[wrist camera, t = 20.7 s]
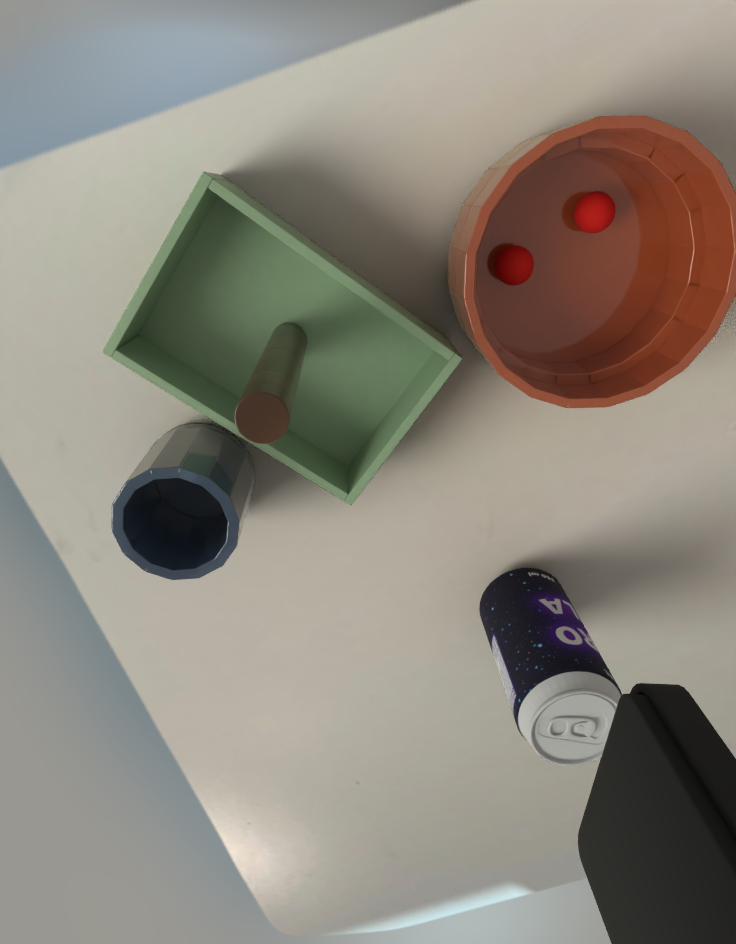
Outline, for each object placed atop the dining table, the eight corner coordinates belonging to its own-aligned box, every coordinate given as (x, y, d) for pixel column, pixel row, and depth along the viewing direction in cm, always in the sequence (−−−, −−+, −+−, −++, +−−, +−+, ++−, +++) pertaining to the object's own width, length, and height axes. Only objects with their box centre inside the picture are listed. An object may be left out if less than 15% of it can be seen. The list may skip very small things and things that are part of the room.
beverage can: (552, 633, 46) (620, 773, 35) (471, 630, 46) (513, 770, 34) (567, 562, 44) (644, 687, 33) (483, 558, 43) (532, 683, 32)
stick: (264, 344, 37) (223, 425, 24) (283, 315, 36) (252, 380, 23) (294, 364, 37) (270, 454, 25) (314, 335, 37) (299, 411, 24)
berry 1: (484, 253, 35) (492, 273, 34) (517, 230, 34) (527, 249, 33) (501, 279, 36) (510, 299, 35) (534, 258, 35) (545, 277, 34)
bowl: (398, 292, 37) (408, 309, 31) (553, 70, 33) (596, 45, 27) (572, 419, 40) (609, 455, 34) (731, 231, 36) (802, 237, 30)
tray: (128, 334, 37) (101, 352, 33) (220, 174, 34) (203, 171, 30) (350, 474, 41) (351, 505, 37) (449, 340, 38) (463, 358, 34)
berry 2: (575, 184, 34) (560, 224, 34) (601, 187, 32) (584, 229, 33) (604, 196, 35) (588, 235, 35) (630, 199, 33) (613, 240, 34)
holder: (128, 486, 40) (88, 541, 34) (181, 401, 38) (149, 442, 32) (220, 538, 42) (198, 600, 36) (275, 459, 40) (262, 509, 34)
